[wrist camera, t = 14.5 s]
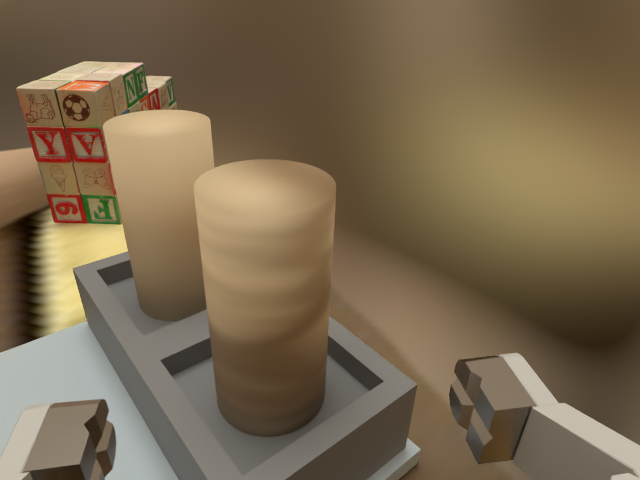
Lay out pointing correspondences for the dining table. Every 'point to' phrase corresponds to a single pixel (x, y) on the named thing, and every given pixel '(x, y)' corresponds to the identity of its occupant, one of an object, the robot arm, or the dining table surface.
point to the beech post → (267, 289)
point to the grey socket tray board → (192, 344)
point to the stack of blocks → (85, 132)
